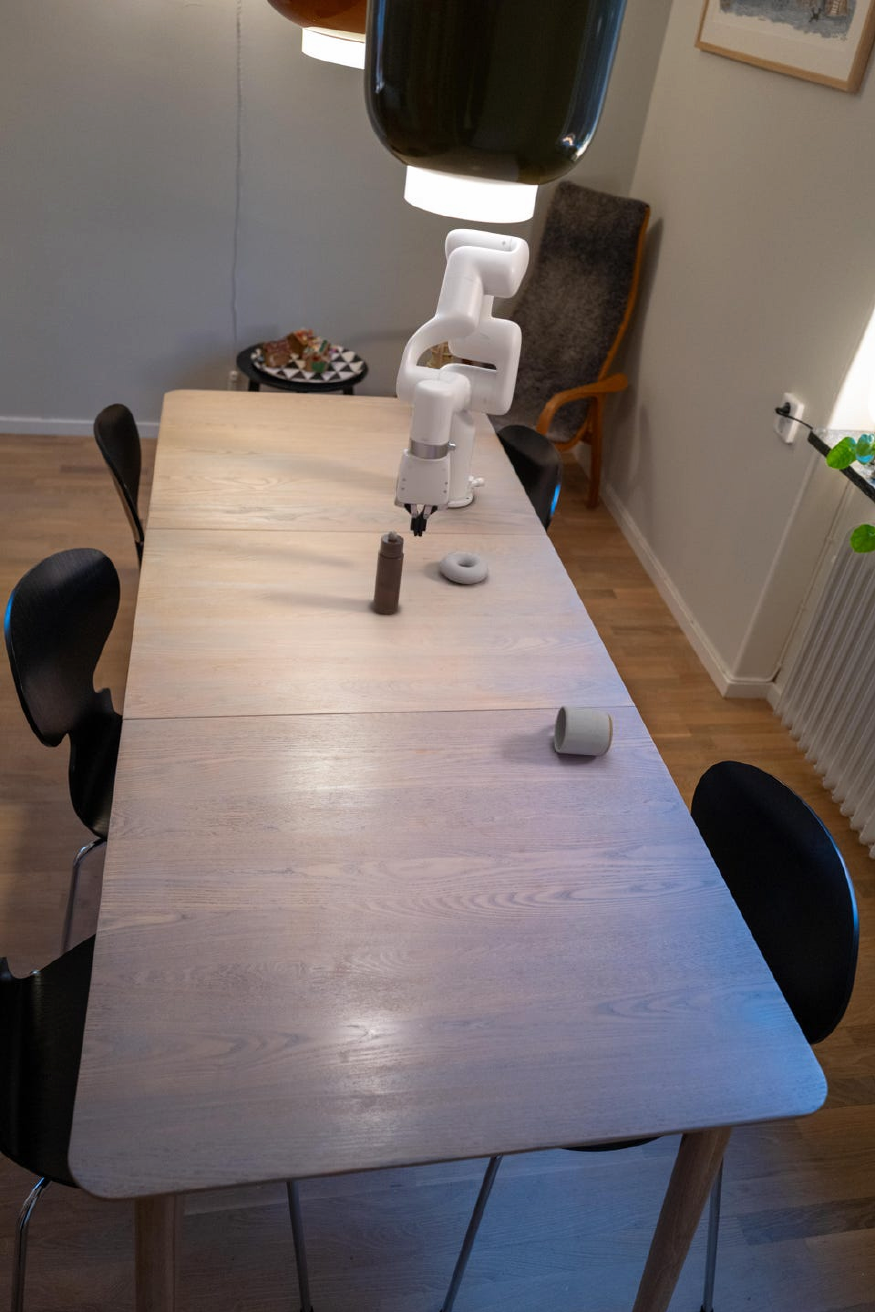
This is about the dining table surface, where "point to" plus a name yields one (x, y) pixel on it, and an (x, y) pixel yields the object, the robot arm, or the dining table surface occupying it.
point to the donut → (464, 567)
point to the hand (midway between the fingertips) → (417, 533)
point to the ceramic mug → (582, 731)
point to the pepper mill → (388, 574)
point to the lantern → (440, 356)
